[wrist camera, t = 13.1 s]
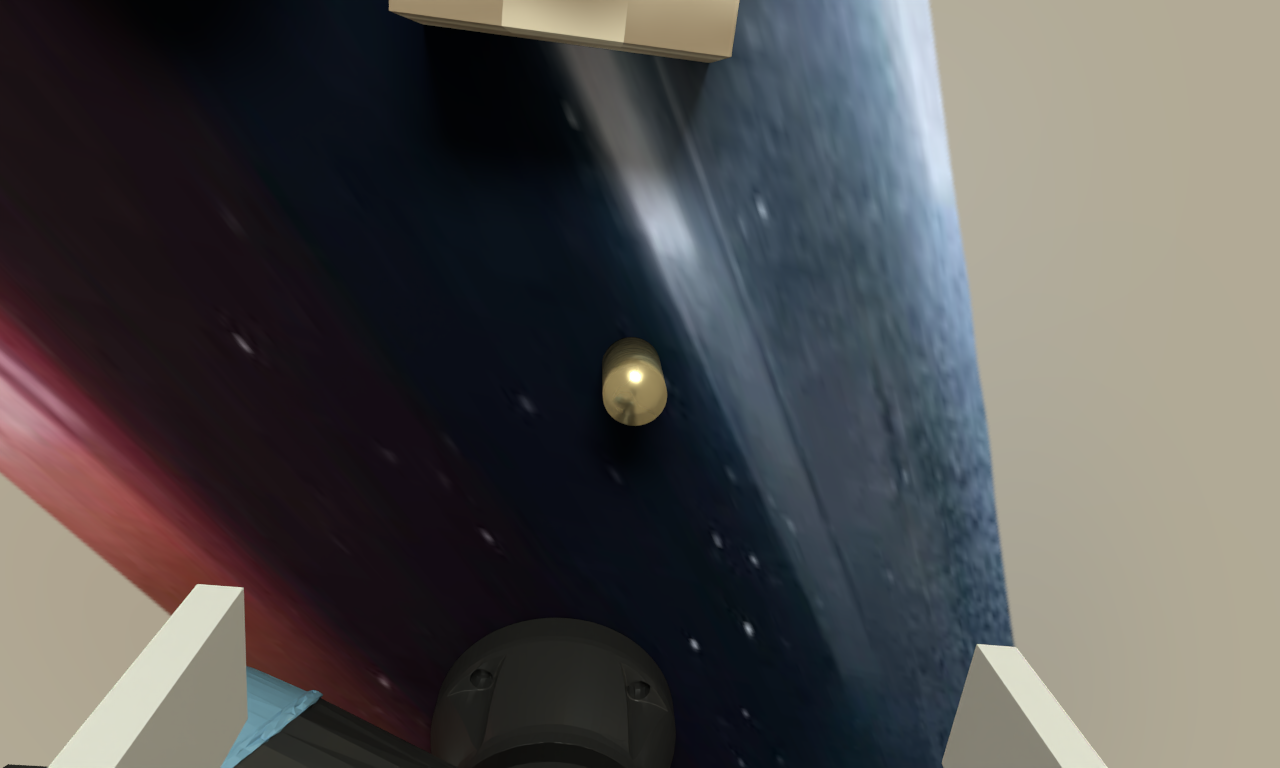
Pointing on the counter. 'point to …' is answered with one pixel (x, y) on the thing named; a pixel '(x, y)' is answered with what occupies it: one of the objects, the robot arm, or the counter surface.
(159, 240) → the counter surface
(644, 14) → the birch block
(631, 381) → the brass pin
